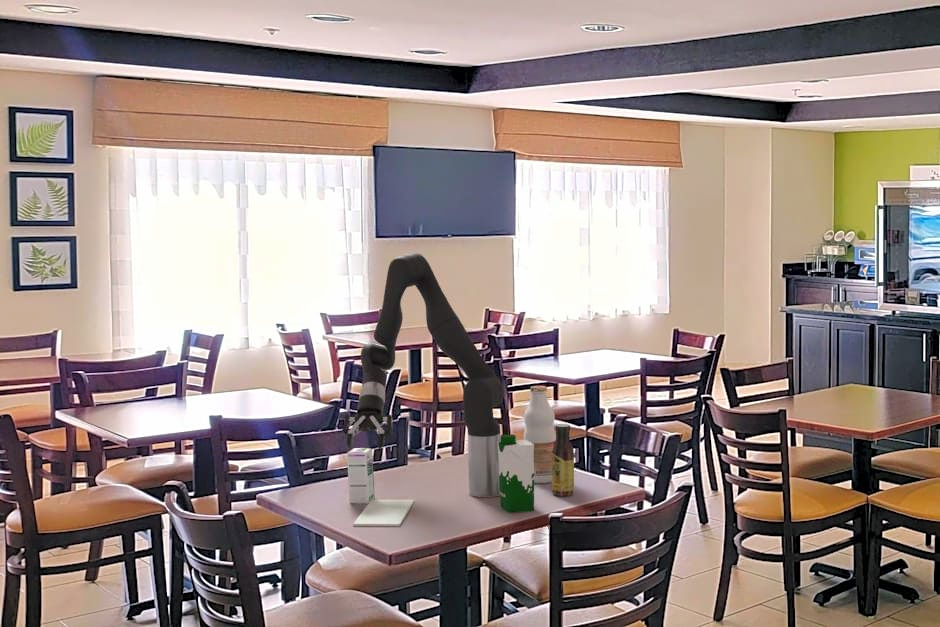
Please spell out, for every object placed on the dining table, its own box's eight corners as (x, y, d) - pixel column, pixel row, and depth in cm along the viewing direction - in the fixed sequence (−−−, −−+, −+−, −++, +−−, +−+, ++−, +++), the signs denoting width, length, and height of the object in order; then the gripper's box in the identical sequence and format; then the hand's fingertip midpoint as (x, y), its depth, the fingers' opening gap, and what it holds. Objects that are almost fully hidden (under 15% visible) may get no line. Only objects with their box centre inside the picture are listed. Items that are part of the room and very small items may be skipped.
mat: (414, 501, 292) (414, 499, 292) (399, 526, 269) (399, 524, 269) (371, 501, 294) (371, 499, 294) (353, 526, 270) (353, 523, 270)
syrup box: (368, 503, 292) (367, 452, 290) (348, 503, 293) (346, 451, 292) (374, 498, 297) (373, 447, 296) (354, 498, 298) (353, 447, 297)
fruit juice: (518, 480, 314) (516, 387, 312) (539, 474, 320) (537, 383, 318) (541, 485, 307) (539, 390, 305) (563, 479, 314) (561, 386, 311)
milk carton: (496, 506, 285) (494, 433, 284) (527, 503, 288) (526, 430, 286) (506, 514, 277) (504, 439, 275) (539, 511, 280) (537, 436, 278)
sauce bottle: (549, 492, 299) (547, 423, 297) (570, 491, 300) (569, 421, 298) (555, 498, 292) (554, 427, 291) (577, 496, 294) (576, 426, 292)
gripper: (345, 393, 309) (337, 440, 298) (393, 393, 307) (387, 440, 297) (350, 408, 315) (342, 454, 304) (397, 408, 313) (391, 454, 303)
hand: (364, 447), depth 300 cm, fingers open, 8 cm apart
